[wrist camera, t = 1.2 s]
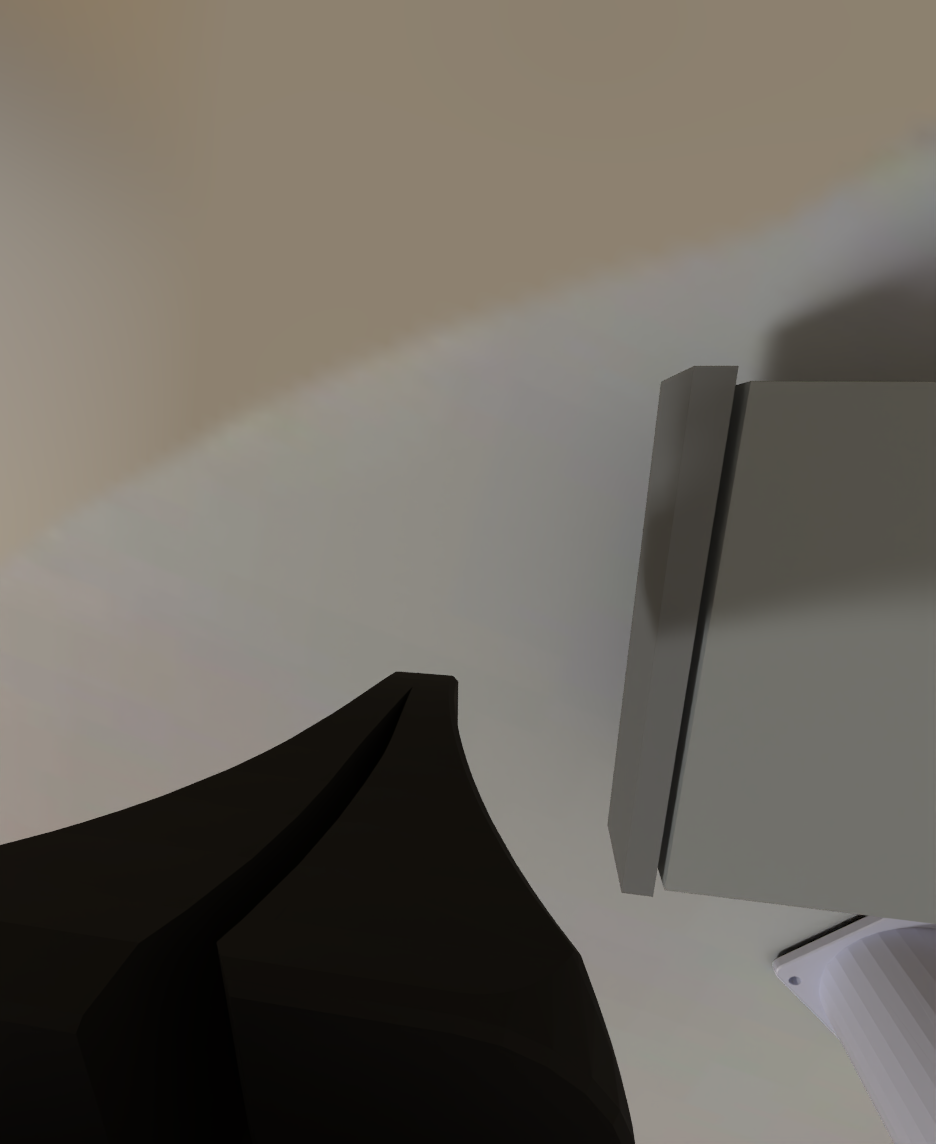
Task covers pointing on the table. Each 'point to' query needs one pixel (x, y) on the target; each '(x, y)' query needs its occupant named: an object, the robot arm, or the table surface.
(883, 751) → the lid
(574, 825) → the table surface
